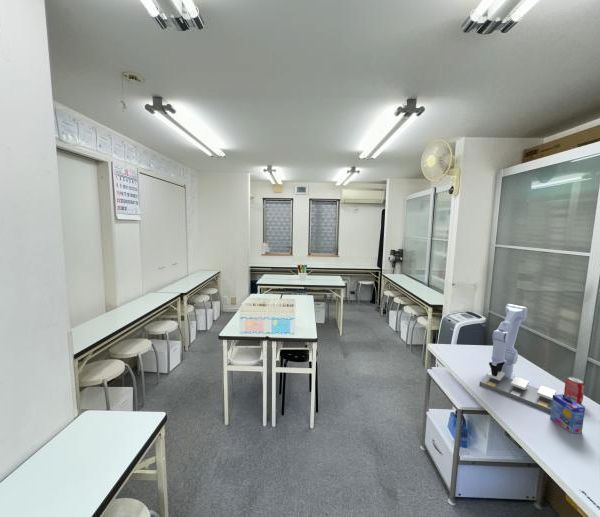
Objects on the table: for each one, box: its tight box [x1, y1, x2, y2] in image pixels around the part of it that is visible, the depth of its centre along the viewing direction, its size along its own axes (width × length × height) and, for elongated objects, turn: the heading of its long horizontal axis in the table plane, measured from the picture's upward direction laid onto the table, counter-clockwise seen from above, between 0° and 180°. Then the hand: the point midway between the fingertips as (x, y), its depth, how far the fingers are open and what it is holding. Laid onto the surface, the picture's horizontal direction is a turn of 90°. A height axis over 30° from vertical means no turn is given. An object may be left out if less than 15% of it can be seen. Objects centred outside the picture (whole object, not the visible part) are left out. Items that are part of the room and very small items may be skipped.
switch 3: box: [537, 385, 557, 400], centre depth 141 cm, size 10×6×1 cm, turn 130°
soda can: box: [563, 376, 586, 405], centre depth 142 cm, size 7×7×12 cm
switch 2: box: [511, 376, 530, 390], centre depth 150 cm, size 10×6×1 cm, turn 130°
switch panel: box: [479, 374, 552, 414], centre depth 149 cm, size 18×32×2 cm, turn 40°
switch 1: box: [486, 370, 505, 381], centre depth 158 cm, size 10×6×1 cm, turn 130°
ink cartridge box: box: [549, 393, 586, 434], centre depth 124 cm, size 10×6×14 cm, turn 5°
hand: (496, 373), depth 158 cm, fingers open, 7 cm apart
